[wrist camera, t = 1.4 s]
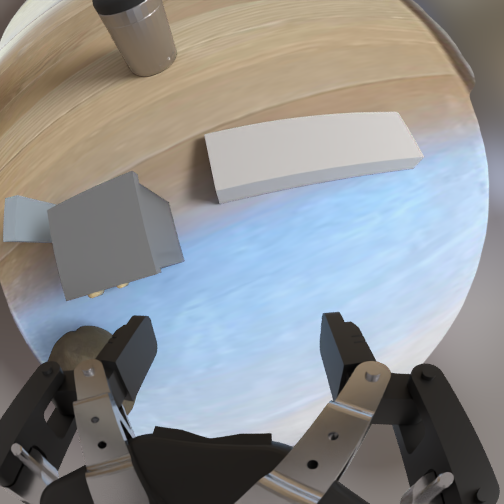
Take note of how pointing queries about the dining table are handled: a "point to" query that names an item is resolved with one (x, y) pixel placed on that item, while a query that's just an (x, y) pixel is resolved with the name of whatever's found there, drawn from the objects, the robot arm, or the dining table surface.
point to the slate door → (26, 220)
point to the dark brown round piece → (82, 350)
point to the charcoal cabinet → (112, 237)
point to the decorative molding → (308, 152)
